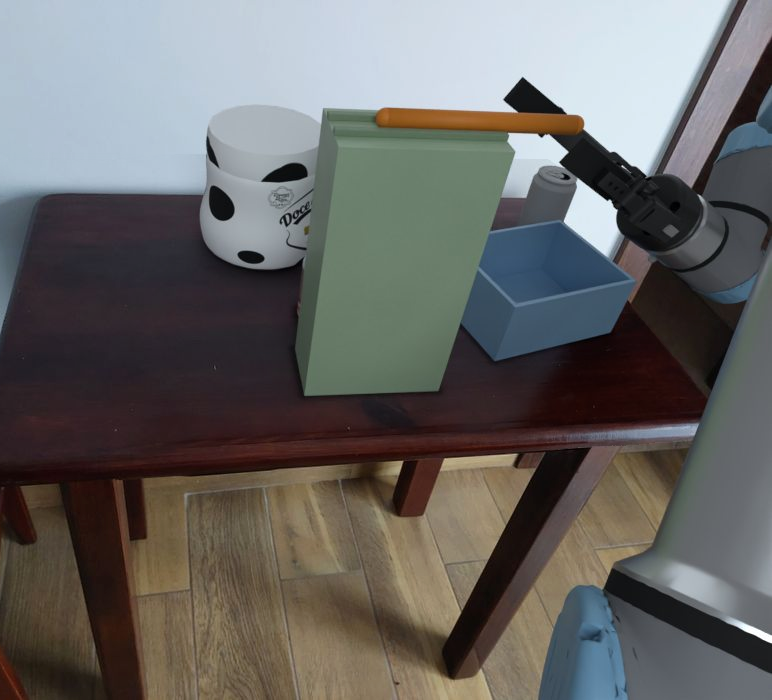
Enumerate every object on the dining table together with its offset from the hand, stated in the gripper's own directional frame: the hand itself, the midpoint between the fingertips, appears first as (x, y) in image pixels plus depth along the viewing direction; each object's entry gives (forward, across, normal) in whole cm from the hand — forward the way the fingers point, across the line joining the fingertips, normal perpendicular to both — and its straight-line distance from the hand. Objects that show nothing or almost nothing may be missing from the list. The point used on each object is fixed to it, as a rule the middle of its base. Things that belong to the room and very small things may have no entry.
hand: (540, 117), depth 62 cm
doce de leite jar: (+3, +26, -38) cm, 47 cm away
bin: (-26, +11, -21) cm, 35 cm away
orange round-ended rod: (+4, 0, -4) cm, 6 cm away
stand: (-6, 0, -33) cm, 33 cm away
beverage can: (-34, +28, -17) cm, 47 cm away
